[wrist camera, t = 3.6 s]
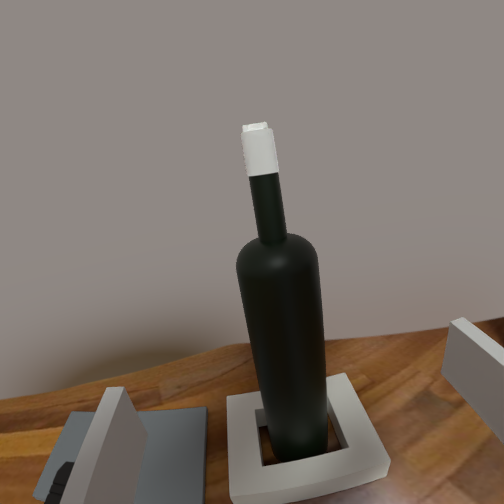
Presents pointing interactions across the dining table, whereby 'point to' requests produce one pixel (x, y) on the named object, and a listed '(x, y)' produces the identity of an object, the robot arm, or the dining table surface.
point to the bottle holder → (310, 469)
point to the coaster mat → (148, 455)
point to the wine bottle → (283, 312)
